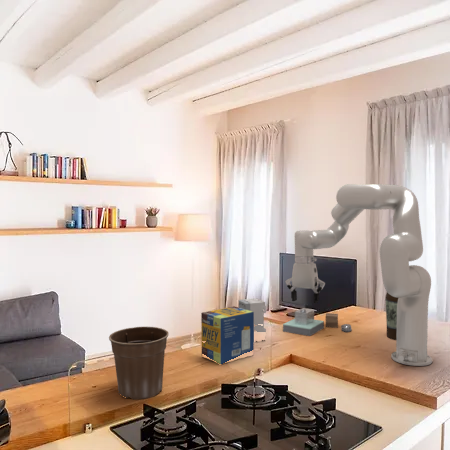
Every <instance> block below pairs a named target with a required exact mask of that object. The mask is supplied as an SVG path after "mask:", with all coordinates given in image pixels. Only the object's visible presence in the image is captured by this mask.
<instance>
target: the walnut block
mask: <svg viewBox="0 0 450 450" xmlns="http://www.w3.org/2000/svg"><path fill="white" fill-rule="evenodd" d="M325 328H331V329H333V328H334V329H338V328H339V313H334V312H333V313H330V312H326V313H325Z"/></svg>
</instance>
